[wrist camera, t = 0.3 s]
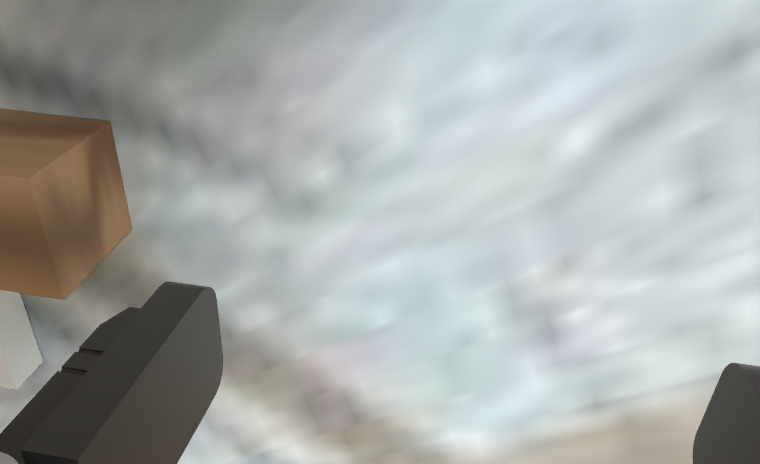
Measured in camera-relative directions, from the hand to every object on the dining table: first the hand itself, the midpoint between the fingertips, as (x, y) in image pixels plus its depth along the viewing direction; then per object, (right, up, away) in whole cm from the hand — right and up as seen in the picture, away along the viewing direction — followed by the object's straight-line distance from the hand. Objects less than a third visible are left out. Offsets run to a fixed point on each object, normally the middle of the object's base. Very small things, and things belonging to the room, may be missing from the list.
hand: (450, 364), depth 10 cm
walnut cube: (-17, +5, +21) cm, 27 cm away
